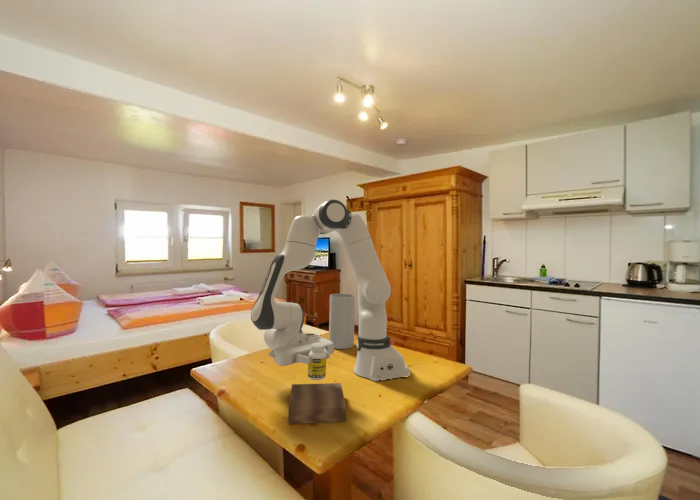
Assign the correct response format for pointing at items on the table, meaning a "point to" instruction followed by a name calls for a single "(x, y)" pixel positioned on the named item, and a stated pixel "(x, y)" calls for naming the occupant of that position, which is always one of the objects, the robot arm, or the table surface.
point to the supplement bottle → (317, 362)
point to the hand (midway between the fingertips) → (319, 358)
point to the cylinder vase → (342, 320)
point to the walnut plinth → (316, 403)
